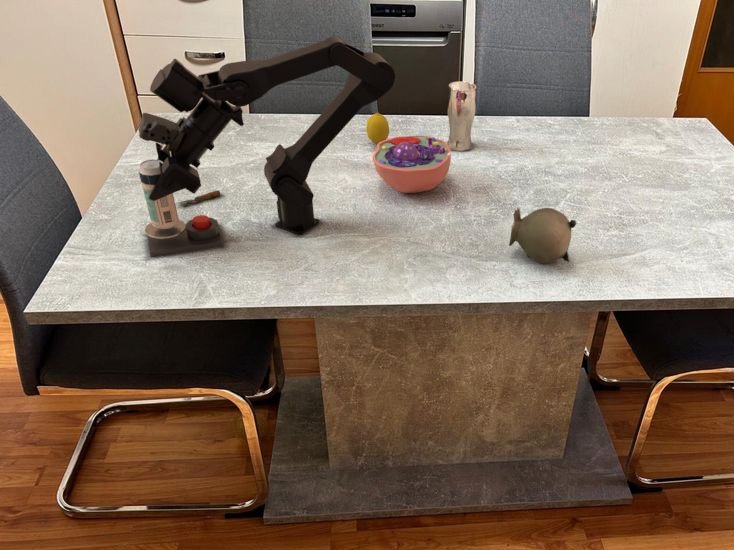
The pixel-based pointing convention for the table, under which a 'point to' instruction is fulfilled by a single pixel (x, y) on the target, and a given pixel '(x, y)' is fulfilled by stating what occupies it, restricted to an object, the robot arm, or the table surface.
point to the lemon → (377, 128)
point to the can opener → (202, 197)
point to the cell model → (412, 162)
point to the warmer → (187, 240)
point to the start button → (201, 222)
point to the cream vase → (461, 114)
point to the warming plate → (165, 231)
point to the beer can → (163, 208)
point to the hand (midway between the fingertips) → (150, 193)
